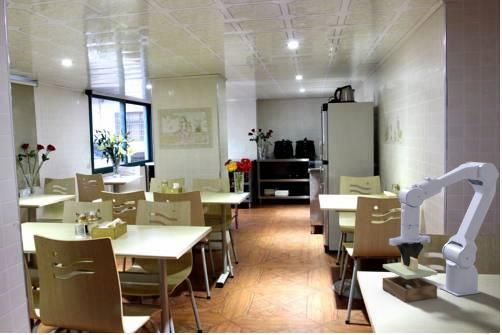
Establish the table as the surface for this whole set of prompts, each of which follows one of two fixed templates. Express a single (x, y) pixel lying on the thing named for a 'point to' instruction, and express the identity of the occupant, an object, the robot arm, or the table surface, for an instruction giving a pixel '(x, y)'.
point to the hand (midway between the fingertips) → (409, 265)
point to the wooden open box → (409, 288)
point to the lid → (410, 269)
